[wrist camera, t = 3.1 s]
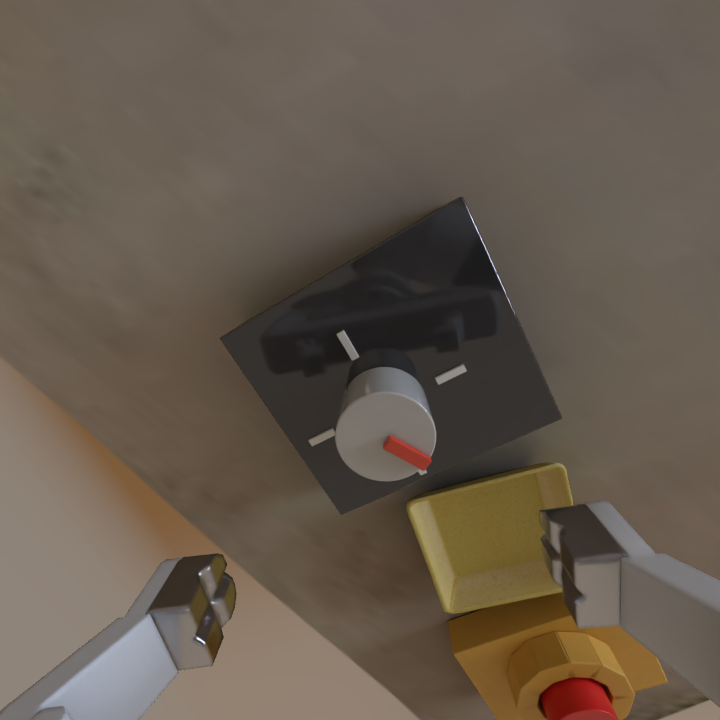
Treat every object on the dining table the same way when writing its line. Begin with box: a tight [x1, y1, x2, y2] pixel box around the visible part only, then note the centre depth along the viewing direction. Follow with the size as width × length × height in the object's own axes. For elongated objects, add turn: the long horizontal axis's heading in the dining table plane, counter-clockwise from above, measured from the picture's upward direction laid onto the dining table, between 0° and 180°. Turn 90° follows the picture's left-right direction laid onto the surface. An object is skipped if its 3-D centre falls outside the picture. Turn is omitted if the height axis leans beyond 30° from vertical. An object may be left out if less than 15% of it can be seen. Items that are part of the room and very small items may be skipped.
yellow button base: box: [448, 592, 668, 720], centre depth 24 cm, size 11×8×4 cm
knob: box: [335, 367, 436, 481], centre depth 16 cm, size 4×4×3 cm
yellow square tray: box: [406, 463, 573, 614], centre depth 22 cm, size 9×9×2 cm
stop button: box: [541, 677, 619, 720], centre depth 21 cm, size 4×4×2 cm
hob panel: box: [220, 197, 562, 515], centre depth 18 cm, size 12×11×3 cm
